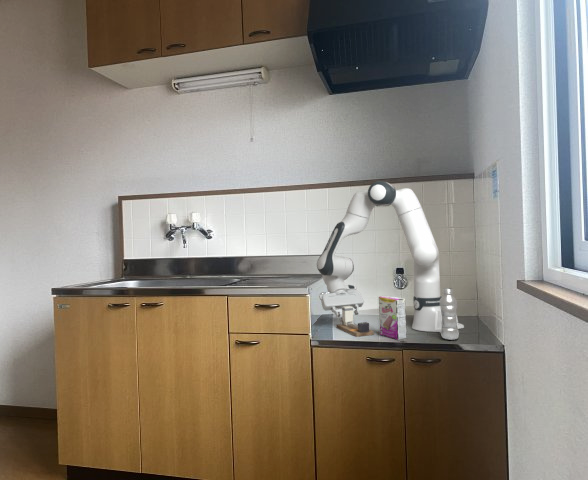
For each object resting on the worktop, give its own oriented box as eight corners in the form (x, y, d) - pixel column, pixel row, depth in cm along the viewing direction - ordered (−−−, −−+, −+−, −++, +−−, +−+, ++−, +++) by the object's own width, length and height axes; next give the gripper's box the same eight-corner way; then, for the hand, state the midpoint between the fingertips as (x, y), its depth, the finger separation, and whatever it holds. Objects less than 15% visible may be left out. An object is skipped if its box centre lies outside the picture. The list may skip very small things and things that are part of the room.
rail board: (352, 325, 196) (351, 316, 196) (373, 334, 177) (373, 324, 177) (336, 327, 193) (336, 318, 193) (356, 336, 174) (356, 326, 174)
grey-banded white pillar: (350, 323, 193) (349, 305, 193) (353, 324, 190) (352, 306, 190) (342, 324, 191) (341, 306, 191) (345, 325, 189) (344, 307, 189)
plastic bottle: (460, 341, 160) (458, 289, 160) (442, 341, 162) (440, 289, 162) (457, 337, 167) (455, 287, 167) (439, 337, 168) (437, 287, 168)
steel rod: (348, 323, 195) (348, 315, 195) (369, 331, 176) (369, 323, 176) (340, 324, 193) (340, 316, 193) (360, 332, 175) (360, 324, 175)
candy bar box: (379, 335, 176) (377, 296, 175) (388, 333, 178) (386, 295, 178) (398, 340, 166) (396, 299, 166) (407, 338, 168) (405, 298, 168)
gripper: (319, 288, 194) (328, 313, 185) (358, 285, 201) (369, 308, 192) (316, 297, 198) (325, 321, 189) (354, 293, 205) (365, 317, 196)
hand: (347, 315), depth 190 cm, fingers open, 8 cm apart
